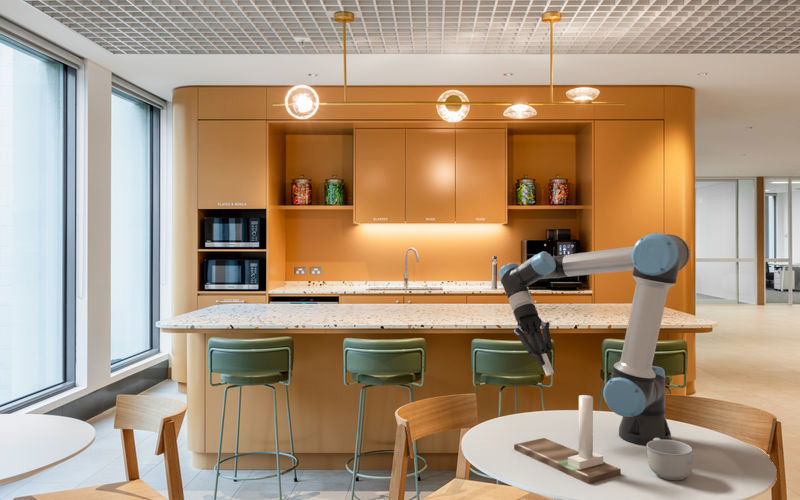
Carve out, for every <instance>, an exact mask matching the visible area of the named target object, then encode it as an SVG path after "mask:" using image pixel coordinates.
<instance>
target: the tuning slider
mask: <svg viewBox="0 0 800 500" xmlns="http://www.w3.org/2000/svg"><path fill="white" fill-rule="evenodd" d="M593 433H594V396H591V395H589V394H588V395H586V394H581V395H578V452H579V455H575V456H570V457H568V465H570V466H572V467H574V468H577V469H579V470H580V469H584V468H588V467H592V466H595V465H599V464H603V461H604V455H603V454H599V453H597V452H594V447H593V446H594V444H593V443H594V434H593Z"/></svg>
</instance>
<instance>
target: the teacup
mask: <svg viewBox="0 0 800 500" xmlns="http://www.w3.org/2000/svg"><path fill="white" fill-rule="evenodd" d="M645 446H646V451H647V463H648V467H649V469H650V470H651V471H652V472H653V473H654V474H655V475H656V476H658V477H659V478H662V479H664V480H668V481H680V480H681V481H682V480H684V479H685V478H687V477H688V476H690V474H691V472H692V469H693V448H692V446H690V445H689V444H688V443H686V442H683V441H679V440H674V439H671V440H661V439H660V438H654V439H653V441H650V442H648V443H647V445H645Z"/></svg>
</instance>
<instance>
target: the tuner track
mask: <svg viewBox="0 0 800 500" xmlns="http://www.w3.org/2000/svg"><path fill="white" fill-rule="evenodd" d="M513 449H514V450H515V451H517V452H519V453H520V454H523V455H525V456H527V457H530V458H531V459H534V460H536V461H538V462H540V463H543V464H544V465H547V466H549V467H551V468H552V469H553V468H554V469H556V470H558V471H560V472H562V473H564V474H567V475H568V476H571V477H573V478H575V479H577V480H579V481H581V482H584V483H586V484H587V485H589V484H593V483H596V482H601V481H604V480H606V479H607V480H608V479H610V478H613V477H617V476H620V475H621V474H622V471H621V468H619V467H616V466H614V465H611V464H609V463H606V461H604V460H603V464H599V465H595V466H592V467H588V468H584V469H580V470H579V469H577V468H574V467H572V466H570V465H568V457H570V456H575V455H579V450H574V449H572V448H570V447H567V446H565V445H563V444H561V443H558V442H556V441H553V440H550V439H548V438H546V437H542V438H538V439H533V440H528V441H525V442H520V443H514V444H513Z"/></svg>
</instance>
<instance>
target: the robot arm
mask: <svg viewBox="0 0 800 500" xmlns="http://www.w3.org/2000/svg"><path fill="white" fill-rule="evenodd" d="M690 252H691V251H690V248H689V245H688V244H687V242H686V240H684V239H683V238H681V236H680V237H679V236H677V235H676V234H668V233H667V234H666V233H660V232H659V233H657V232H655V233H650V234H647V235H644V236H643V237H641V238H640V239H638V240H637V241H636V242H635V244H634V246H627V247H618V248H617V247H616V248H610V249H603V250H602V249H601V250H595V251H587V252H578V253H571V254H565V255H555V256H552V255H551V254H550V253H548V252H547V251H541V252H538V253H537V254H534V255H533V256H532V257H530V258H529V259H527V260H525V261H524V262H522V263H521V264H517V262H516V263H515V262H511V263H507V264H504V265H503V266H501V267H500V268H499V269H498V276H499V279H500V284H501V285H502V288H503V290H504V293H505V295H506V296H507V297H506V298H507V300H508V302H509V305H510V308H511V311H513V312H512V313H513V316H514V318H515V321H516V322H517V327H516V328H515V329H514V330H513V334H514V335H515V336H516V337H518V339H519V341H520V342H521V344H522V346H523V347H524V349H525V350H526V352H527V353H528V355H529V356H530V357H534V358H536V359H537V362H538V364H539V366H540V367H542V368H543V371H544V373H545V376H546V377H549V376H551V375H553V374H554V373H555V371H554V369H553V366H552V358H551V356H550V354H549V353H550V352H551V351H552V350H553V345H552V338H551V334H550V325H551V324H550V323H551V322H549V321H543V320H542V318H540V317H539V313H538V310H537V308H536V305H535V304H534V300H533V298H532V296H531V293H530V291H529V288H528V286H531V285H532V284H534V283H535V282H537V281H539V280H544V279H561V278H567V277H568V278H569V277H578V276H587V275H589V276H590V275H597V274H608V273H618V272H619V273H620V272H628V271H632V278H633V279H634V281H635V282H636V284H635V289H634V294H633V296H632V297H633V298H632V304H631V308H630V312H629V313H630V314H629V318H628V322H627V327H626V331H625V336H624V342H623V347H622V351H621V356H620V359H619V361H617V362H615V363H614V364H613V367H612V373H611V376H610V377H611V378H610V379H609V380H608V381H607V382H606V383H605V385H604V388H603V392H602V393H603V398H604V402H605V404H606V405H607V407H608V409H610V410H611V411H612V412H613V413H615V414H616V415H618V416H620V417H621V421H620V423H619V427H618V436H619V438H621V439H622V440H623V441H627V442H629V443H633V444H636V445H642V446H646V445H647V443H648V442H650V441H653V439H654V438H660V439H661V440H672V433H671V431H670V427H669V424H668V422H667V418H666V378H667V377H666V372H665V369H664V368H663V367H660V366H656V365H653V362H654V358H655V355H656V354H655V353H656V348H657V344H658V339H659V335H660V331H661V330H660V329H661V325H662V319H663V317H664V311H665V307H666V302H667V296H668V293H669V289H670V288H672V287H674V286H675V285H676V284H677V278H678V274H679V271H682V270H683V269H684V267H686V266H687V264H688V263H689V261H690V260H689V259H690V257H691V253H690Z"/></svg>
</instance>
